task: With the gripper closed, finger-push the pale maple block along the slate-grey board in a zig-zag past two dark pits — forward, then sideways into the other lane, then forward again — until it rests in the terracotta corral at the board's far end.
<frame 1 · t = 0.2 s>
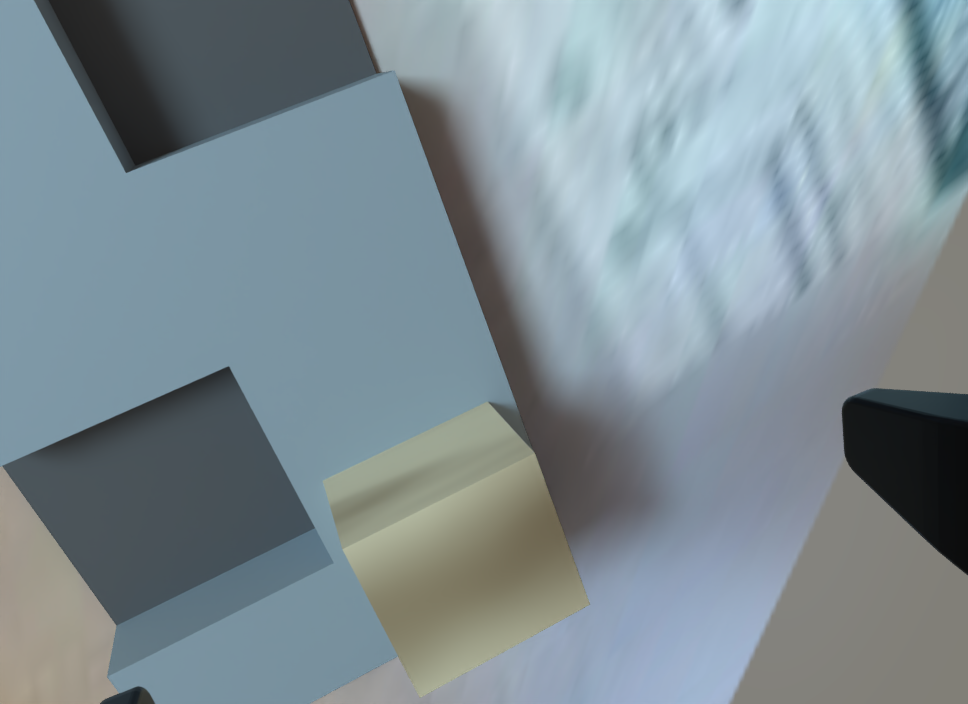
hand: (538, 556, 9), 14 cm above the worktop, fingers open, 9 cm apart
block: (438, 510, 22), point 2 cm above the worktop, touching board
board: (183, 256, 20), on the worktop
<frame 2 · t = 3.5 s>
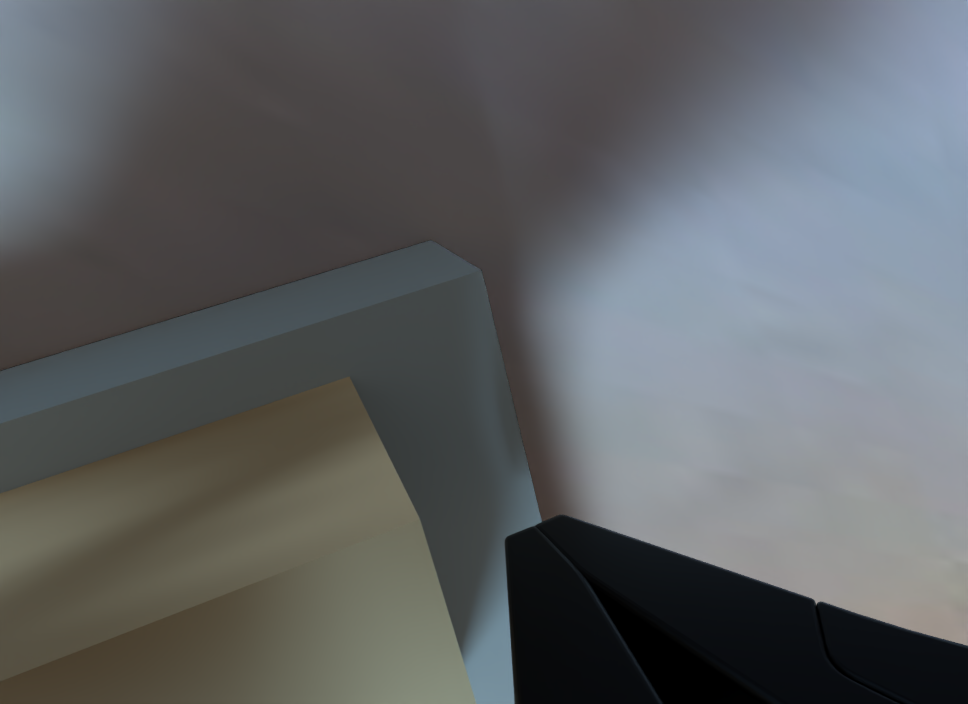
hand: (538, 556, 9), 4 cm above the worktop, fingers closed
block: (212, 622, 9), point 2 cm above the worktop, touching gripper
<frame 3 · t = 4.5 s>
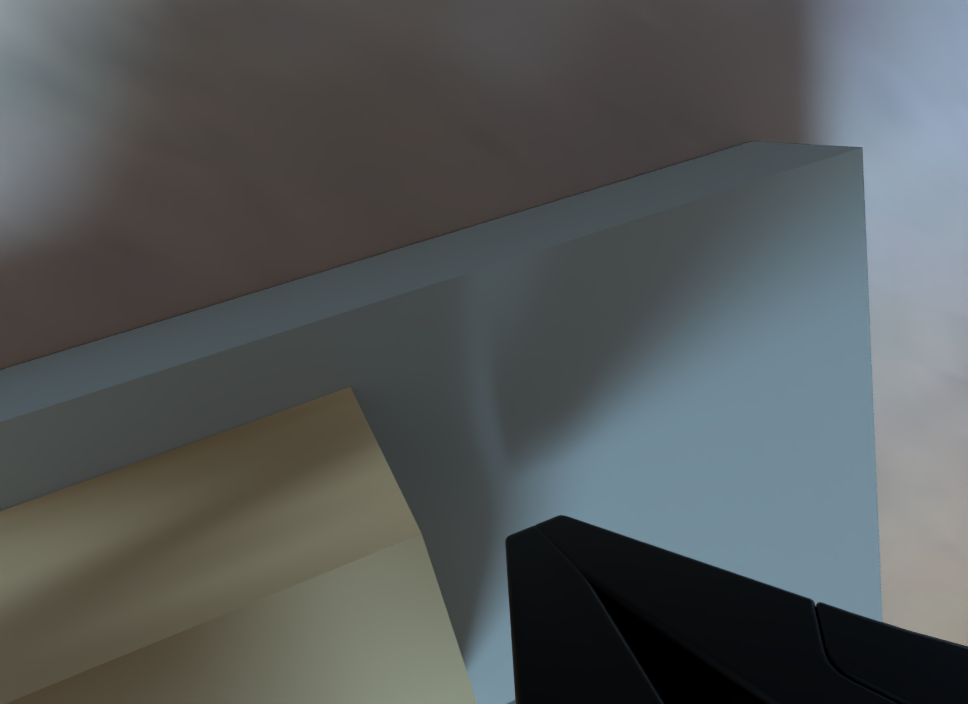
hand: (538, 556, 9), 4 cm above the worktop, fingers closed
block: (218, 631, 9), point 2 cm above the worktop, touching gripper
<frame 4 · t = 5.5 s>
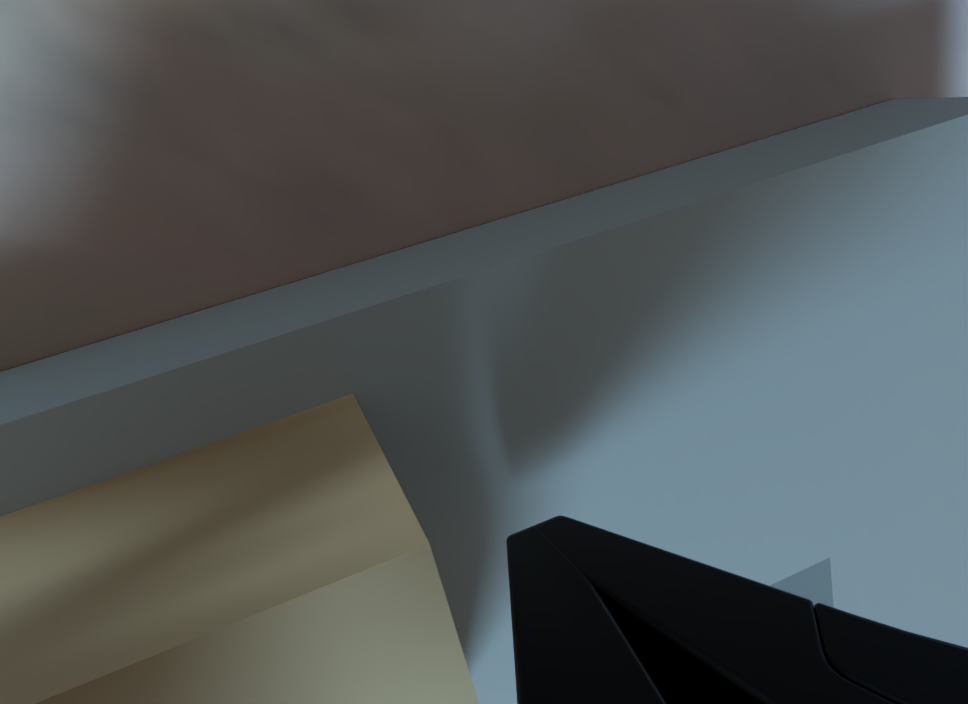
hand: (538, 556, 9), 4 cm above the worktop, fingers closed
block: (217, 640, 9), point 2 cm above the worktop, touching gripper
board: (285, 687, 13), on the worktop
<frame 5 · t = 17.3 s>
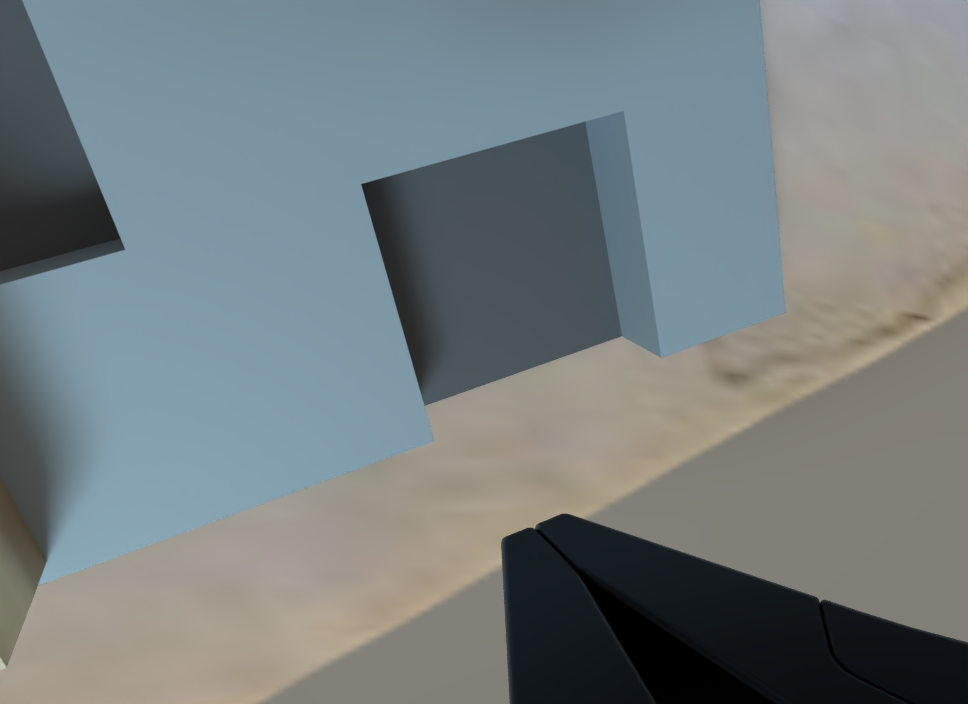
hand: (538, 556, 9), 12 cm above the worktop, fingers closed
board: (243, 203, 18), on the worktop
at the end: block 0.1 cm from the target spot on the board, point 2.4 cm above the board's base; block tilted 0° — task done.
